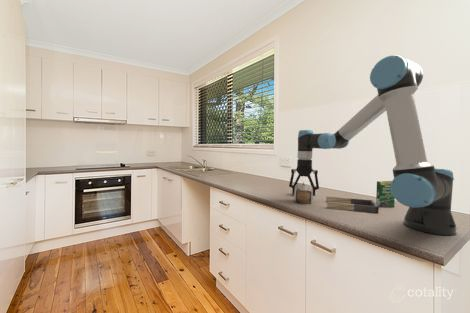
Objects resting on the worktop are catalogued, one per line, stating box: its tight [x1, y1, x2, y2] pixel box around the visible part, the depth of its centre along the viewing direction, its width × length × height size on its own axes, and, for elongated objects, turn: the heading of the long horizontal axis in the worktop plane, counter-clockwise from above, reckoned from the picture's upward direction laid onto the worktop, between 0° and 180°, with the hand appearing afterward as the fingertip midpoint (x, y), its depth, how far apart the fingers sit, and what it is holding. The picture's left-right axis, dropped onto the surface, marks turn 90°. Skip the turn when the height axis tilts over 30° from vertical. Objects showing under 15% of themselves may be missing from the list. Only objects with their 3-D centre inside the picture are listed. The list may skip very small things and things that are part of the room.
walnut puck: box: [295, 189, 312, 205], centre depth 121 cm, size 8×8×6 cm
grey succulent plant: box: [295, 182, 310, 190], centre depth 136 cm, size 9×8×10 cm
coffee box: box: [375, 180, 396, 208], centre depth 113 cm, size 8×3×13 cm, turn 90°
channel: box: [325, 195, 380, 214], centre depth 112 cm, size 13×22×3 cm, turn 69°
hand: (303, 200), depth 120 cm, fingers closed on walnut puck, 8 cm apart
